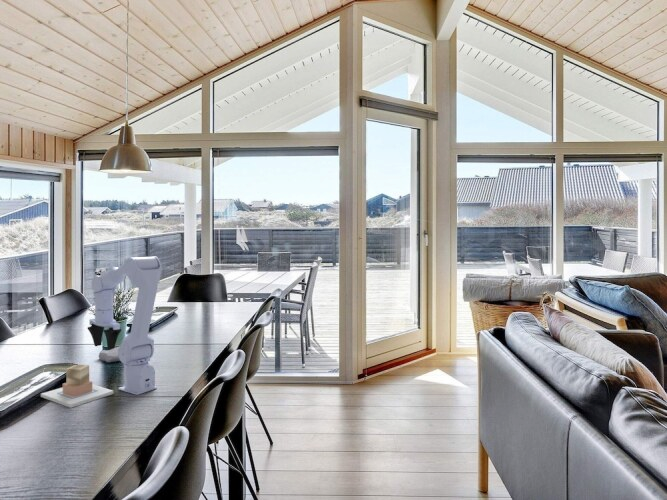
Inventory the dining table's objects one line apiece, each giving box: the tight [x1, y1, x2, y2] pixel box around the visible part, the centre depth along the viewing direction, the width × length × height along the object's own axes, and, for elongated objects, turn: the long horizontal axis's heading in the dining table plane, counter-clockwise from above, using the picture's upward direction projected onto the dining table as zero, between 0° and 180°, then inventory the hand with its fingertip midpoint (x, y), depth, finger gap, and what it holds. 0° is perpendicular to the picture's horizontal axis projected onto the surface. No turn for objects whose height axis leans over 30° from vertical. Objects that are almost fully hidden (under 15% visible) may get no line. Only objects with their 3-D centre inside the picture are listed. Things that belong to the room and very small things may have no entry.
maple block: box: [65, 364, 90, 385], centre depth 152 cm, size 5×5×5 cm
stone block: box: [98, 345, 121, 363], centre depth 193 cm, size 12×5×10 cm
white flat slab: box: [40, 380, 115, 408], centre depth 152 cm, size 16×14×4 cm
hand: (104, 347), depth 171 cm, fingers open, 7 cm apart
